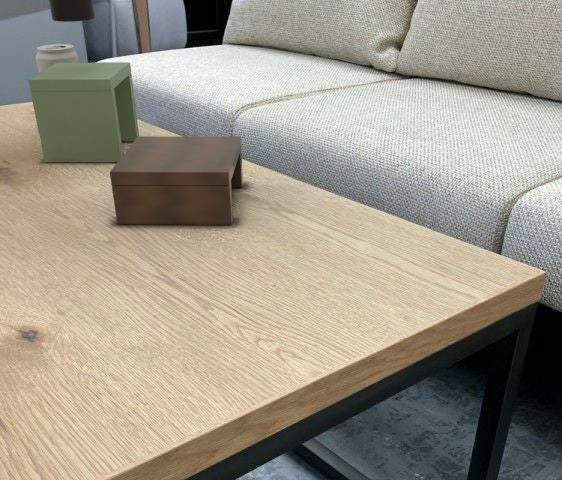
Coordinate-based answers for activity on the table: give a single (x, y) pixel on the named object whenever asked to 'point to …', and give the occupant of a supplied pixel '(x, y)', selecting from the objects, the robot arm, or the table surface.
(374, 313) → the table surface
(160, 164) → the low shelf
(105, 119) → the green open cubby
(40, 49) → the beverage can
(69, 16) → the black tin
